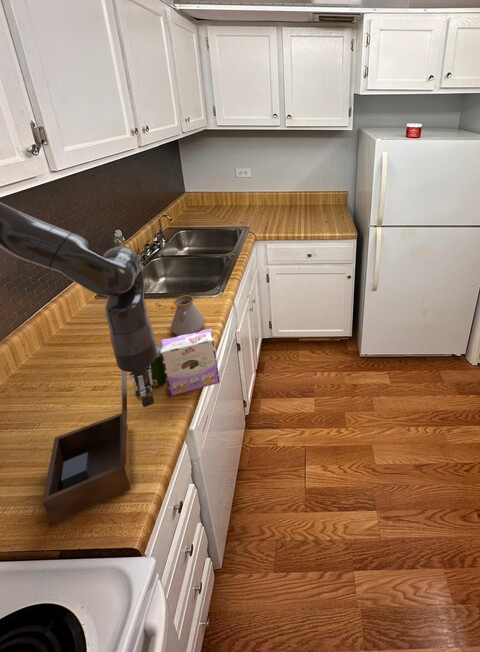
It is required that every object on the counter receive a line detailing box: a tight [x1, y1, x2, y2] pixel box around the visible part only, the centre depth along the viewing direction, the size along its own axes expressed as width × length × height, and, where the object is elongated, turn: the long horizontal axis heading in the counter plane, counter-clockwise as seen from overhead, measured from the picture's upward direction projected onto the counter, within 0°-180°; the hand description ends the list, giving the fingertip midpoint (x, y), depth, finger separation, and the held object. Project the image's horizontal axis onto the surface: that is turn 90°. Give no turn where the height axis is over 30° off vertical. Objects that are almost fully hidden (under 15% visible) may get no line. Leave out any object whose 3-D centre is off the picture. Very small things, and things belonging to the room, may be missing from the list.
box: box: [41, 412, 132, 526], centre depth 73 cm, size 14×15×8 cm
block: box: [61, 452, 92, 489], centre depth 72 cm, size 4×4×4 cm
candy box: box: [160, 328, 221, 397], centre depth 95 cm, size 14×6×16 cm, turn 111°
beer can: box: [151, 343, 167, 388], centre depth 96 cm, size 5×5×12 cm
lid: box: [121, 370, 128, 466], centre depth 72 cm, size 14×15×1 cm
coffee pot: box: [170, 294, 205, 336], centre depth 113 cm, size 21×12×15 cm, turn 19°
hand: (148, 403), depth 74 cm, fingers closed
